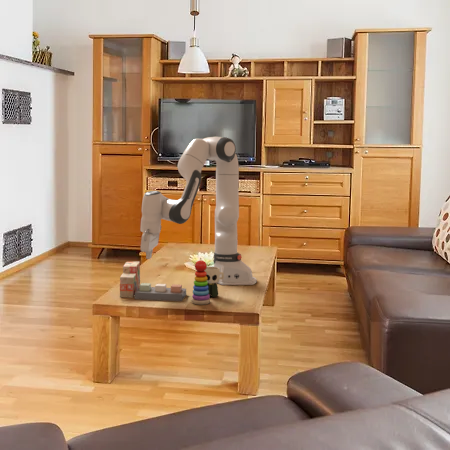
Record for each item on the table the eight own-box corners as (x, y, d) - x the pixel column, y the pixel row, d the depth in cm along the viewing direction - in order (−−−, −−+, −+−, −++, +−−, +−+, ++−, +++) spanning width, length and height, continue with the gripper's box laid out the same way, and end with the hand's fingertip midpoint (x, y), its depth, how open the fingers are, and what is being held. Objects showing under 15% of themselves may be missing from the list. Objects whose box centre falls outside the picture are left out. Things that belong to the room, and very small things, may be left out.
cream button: (166, 290, 302) (166, 284, 302) (164, 292, 298) (164, 286, 297) (157, 290, 302) (157, 283, 302) (155, 292, 298) (155, 285, 298)
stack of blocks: (133, 297, 299) (133, 270, 297) (119, 297, 299) (119, 270, 297) (140, 286, 320) (140, 261, 318) (126, 286, 320) (126, 260, 318)
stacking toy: (191, 300, 295) (191, 258, 293) (209, 300, 296) (210, 258, 293) (191, 305, 287) (192, 262, 285) (210, 305, 288) (211, 262, 285)
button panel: (186, 295, 305) (186, 288, 304) (181, 301, 294) (182, 294, 294) (140, 293, 307) (140, 286, 307) (134, 299, 296) (134, 292, 296)
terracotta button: (181, 291, 301) (181, 284, 301) (180, 293, 297) (180, 286, 297) (172, 290, 302) (172, 284, 301) (170, 293, 298) (170, 286, 297)
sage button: (150, 289, 303) (150, 283, 302) (148, 292, 299) (148, 285, 298) (141, 289, 303) (141, 283, 303) (139, 291, 299) (139, 285, 299)
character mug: (198, 298, 300) (198, 269, 298) (199, 294, 307) (200, 266, 305) (223, 298, 299) (223, 270, 298) (223, 294, 307) (224, 266, 305)
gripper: (152, 231, 288) (150, 263, 290) (162, 225, 308) (160, 255, 310) (138, 230, 289) (136, 262, 291) (148, 224, 309) (146, 254, 311)
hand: (148, 258), depth 301 cm, fingers closed
